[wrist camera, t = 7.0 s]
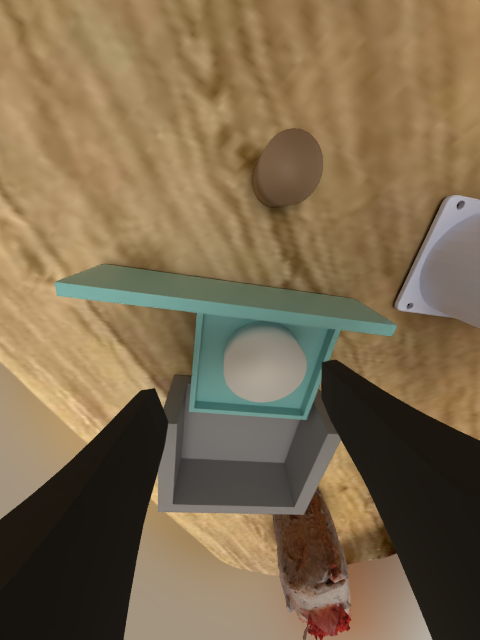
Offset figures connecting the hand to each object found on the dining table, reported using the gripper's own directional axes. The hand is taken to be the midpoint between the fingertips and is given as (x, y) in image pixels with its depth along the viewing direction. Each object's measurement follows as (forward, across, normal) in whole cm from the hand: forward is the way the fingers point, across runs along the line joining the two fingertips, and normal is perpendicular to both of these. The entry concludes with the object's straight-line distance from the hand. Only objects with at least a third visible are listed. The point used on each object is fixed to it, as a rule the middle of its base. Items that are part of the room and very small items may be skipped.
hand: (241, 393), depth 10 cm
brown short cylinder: (+8, -4, -8) cm, 13 cm away
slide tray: (+8, +1, +2) cm, 8 cm away
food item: (+9, -4, +31) cm, 33 cm away
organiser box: (+8, +1, +12) cm, 15 cm away
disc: (+6, -2, +3) cm, 7 cm away
